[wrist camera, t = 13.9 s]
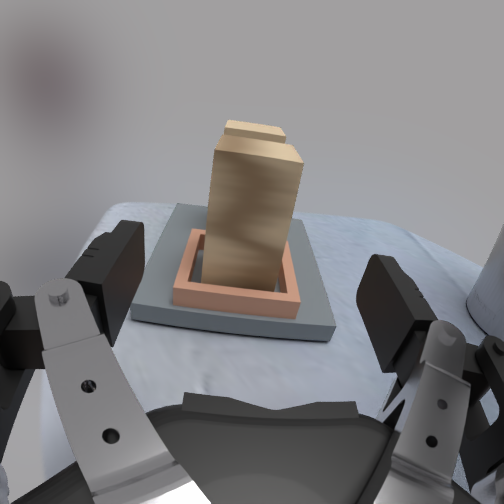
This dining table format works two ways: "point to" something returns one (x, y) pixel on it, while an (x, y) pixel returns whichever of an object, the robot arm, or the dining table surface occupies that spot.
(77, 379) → the robot arm
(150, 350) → the dining table surface
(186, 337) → the dining table surface
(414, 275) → the dining table surface
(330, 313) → the base board
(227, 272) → the maple pillar
